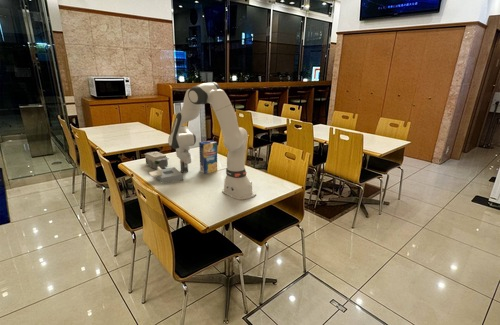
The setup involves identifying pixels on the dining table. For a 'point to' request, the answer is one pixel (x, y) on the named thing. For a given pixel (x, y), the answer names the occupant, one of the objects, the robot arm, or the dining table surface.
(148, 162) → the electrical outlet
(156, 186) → the dining table surface
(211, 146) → the blue cracker box
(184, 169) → the plug
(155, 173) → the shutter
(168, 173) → the socket
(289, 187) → the dining table surface
